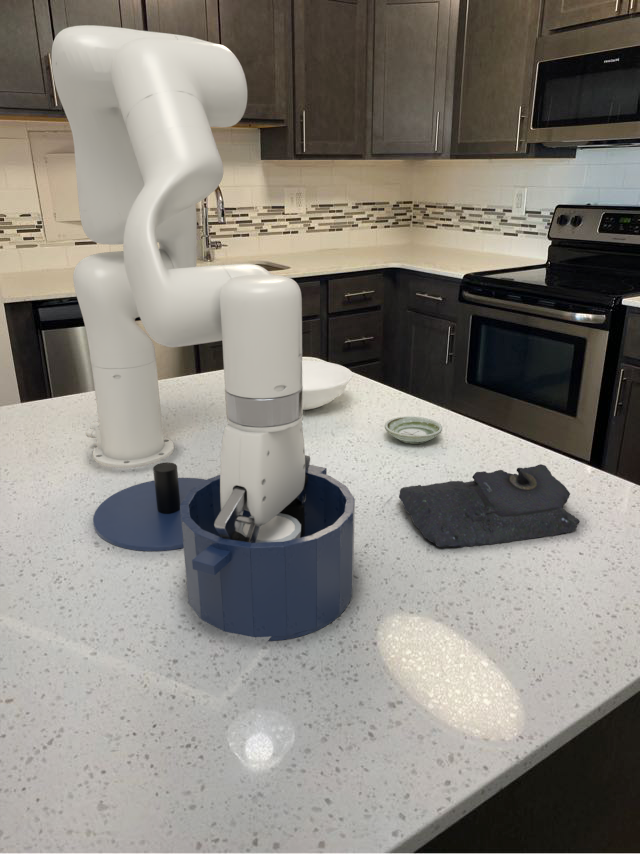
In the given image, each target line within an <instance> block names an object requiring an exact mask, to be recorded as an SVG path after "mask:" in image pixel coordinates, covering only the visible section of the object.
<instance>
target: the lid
mask: <svg viewBox="0 0 640 854" xmlns="http://www.w3.org/2000/svg"><path fill="white" fill-rule="evenodd" d="M152 471H153V473H152V474H153V480H149V481H144V482H141V483H137V484H134V485H132V486H131V485H130V486H128V487H126V488H124V489H121V490H119V491H117V492H116V493H113V494H112V495H110V496H109V497H107V498H106V499H105V500H103V501H102V502H101V503H100V504H99V505H98V507H97V508H96V510H95V512H94V514H93V517H92V523H93V529H94V530H95V533H96V534H97V536H99V537H100V538H101V539H102V540H103V541H105V542H107V543H109V544H110V545H113V546H116V547H118V548H123V549H127V550H133V551H142V552H163V551H173V550H179V549H180V550H181V549H184V546H183V535H182V524H181V512H180V504H181V503H182V501H183V500H184V498H185V496H186V495H187V493H188V492H189V491H190V490H191V489H193V488H194V487H196V486H197V485H199V484H200V483H202V482H203V481H205V480H206V478H198V477H179V474H178V473H179V472H178V465H177V464H176V463H174V462H160V463H156V464H155V465H154V466H153V467H152Z"/></svg>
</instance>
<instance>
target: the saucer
mask: <svg viewBox="0 0 640 854" xmlns="http://www.w3.org/2000/svg"><path fill="white" fill-rule="evenodd" d="M384 430H385V431H386V432H387V433H388V434H390V435H391V436H392V437H394V438H395V439H396V440H399V441H400V442H402V443H405V444H410V445H420V444H424V443H426V442H427V441H430V440H433V439H435V438H436V437H437V436H438V435H440V434H441V433H442V431H443V425H442V424H441V423H440V422H438V421H437V420H434V419H431V418H427V417H422V416H412V415H411V416H410V415H409V416H408V415H407V416H398V417H394V418H392V419H389V420H387V421H386V422H385V423H384Z"/></svg>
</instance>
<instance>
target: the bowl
mask: <svg viewBox="0 0 640 854" xmlns="http://www.w3.org/2000/svg"><path fill="white" fill-rule="evenodd" d="M353 377H354V375H353V372H352V370H351V369H349V368H347V367H345V366H343V365H341V364H338V363H333V362H327V361H321V360H305V359H304V360H303V359H302V386H303V411H306V410H313V409H317V408H320V407H322V406H325V405H327V404H329V403H331V402H332V401H334V400H335V399H337V398H338V397H339V396H342V395H343V394H344V393H345V390H346V388H347V385H348V383H350V382H351V381H352V379H353Z"/></svg>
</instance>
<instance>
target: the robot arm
mask: <svg viewBox="0 0 640 854" xmlns="http://www.w3.org/2000/svg"><path fill="white" fill-rule="evenodd" d="M51 70H52V76H53V81H54V85H55V89H56V92H57V96H58V98H59V101H60V104H61V106H62V109H63V111H64V114H65V116H66V118H67V121H68V123H69V127H70V131H71V135H72V140H73V147H74V162H75V163H74V164H75V176H76V177H75V178H76V189H77V200H78V210H79V212H78V213H79V219H80V223H81V227H82V230H83V232H84V234H85V236H86V237H87V238H88V239H89V240H91V241H92V242H93V243H96V244H100V245H109V246H113V245H115V246H117V245H122V246H123V247H122V248H123V249H122V250H119V251H106V252H98V253H95V254H90V255H88V256H86V257H84V258H82V259H81V260H80V261H78V263H77V264H76V266H75V268H74V270H73V274H72V281H73V287H74V293H75V295H76V299H77V302H78V305H79V310H80V313H81V316H82V319H83V320H82V321H83V323H84V328H85V333H86V337H87V344H88V350H89V351H88V352H89V359H90V364H91V371H92V379H93V386H94V394H95V401H96V410H97V418H98V420H93V421H92V422H91V423H90V426H89V428H87V429H86V431H85V436H86V437H87V438H91V439H92V438H93V439H96V446H95V447H94V449H93V451H92V459H93V461H94V462H96V463H97V464H98V465H100V466H103V467H108V468H114V469H115V468H116V469H134V468H141V467H146V466H149V465H150V466H151V465H154V464H158V463H159V462H160V463H161V462H162V461H164V460H166V459H168V458H169V457H170V456H172V454H173V453H174V451H175V443H174V442H173V440H172V439H170V438H168V437H166V436H164V429H163V419H162V417H163V416H162V407H161V399H160V387H159V386H160V385H159V375H158V366H157V365H158V364H157V358H156V357H157V355H156V347H155V345H154V342H155V343H156V344H159V345H160V346H163V347H166V348H178V347H179V348H180V347H188V346H194V345H195V346H196V345H201V344H208V343H215V342H221V341H222V342H221V343H222V359H223V360H222V361H223V362H222V363H223V377H224V378H223V379H224V394H225V395H224V399H225V415H226V416H225V417H226V423H227V424H226V425H225V426H224V428H223V432H222V433H223V434H222V440H221V449H220V463H219V464H220V465H219V466H220V469H219V470H220V471H219V475H220V503H221V512H220V513H219V515H218V517H217V518H216V520H215V523H214V526H215V529H216V530H217V532H218V534H219V536H220V537H222V538H224V539H230V540H237V541H243V542H250V543H256V539H257V536H258V533H259V530H260V527H261V526H262V525H264V524H266V523H267V522H269V521H270V520H271V519H273V518H274V517H275V516H276V515H277V514H279V513H282V514H286V515H290V516H292V517H294V518H296V519H297V520H298V521H299V523H300V524H301V534H300V538H302V537H303V536H304V535H305V513H304V505H301V503H302V504H304V503H305V501H306V493H305V492H304V490H305V488H306V485H307V483H308V475H306V473H308V469H309V465H311V456H310V455H306V452H305V451H306V449H305V436H304V428H303V420H304V410H303V386H302V360H303V298H302V291H301V288H300V286H299V284H298V282H297V281H295V280H294V279H293V278H291V277H288V276H285V275H280V274H272V273H271V272H270V271H269V270H267V269H266V268H265V267H263V266H261V265H258V264H254V263H233V264H232V263H231V264H221V265H218V264H216V265H215V264H213V265H203V266H202V265H201V266H197V253H198V251H197V245H198V244H197V243H198V242H197V241H198V239H197V238H198V237H197V236H198V233H197V232H198V220H197V206H196V205H197V204H199V203H200V202H202V201H204V200H205V199H207V198H208V197H209V196H210V195H212V193H214V192H215V191H216V189H218V187H219V186H220V184H221V182H222V180H223V178H224V163H223V160H222V157H221V155H220V152H219V150H218V145H217V143H216V140H215V137H214V134H213V132H212V128H231V127H233V126H236V125H237V124H238V123H239V122H240V121H241V119H242V118H243V116H244V115H245V112H246V109H247V105H248V84H247V79H246V74H245V72H244V69H243V67H242V64H241V63H240V61H239V59H238V58H237V56H236V55H235V54H234V52H232V51H231V49H229V48H228V47H227V46H225V45H223V44H219V43H215V42H211V41H207V40H204V39H200V38H196V37H192V36H188V35H183V34H182V35H181V34H173V33H168V32H167V33H166V32H159V31H158V32H157V31H149V30H138V29H132V28H127V27H126V28H125V27H117V26H106V25H91V24H90V25H87V24H86V25H73V26H68V27H66V28H63V29H62V30H60V31H59V32H58V33H57V34H56V36H55V37H54V40H53V43H52V45H51ZM137 318H139V319H140V321H141V324H142V326H143V328H144V330H143V328H141V326H139V325H138V324H137V322H136V319H137ZM153 341H154V342H153ZM244 510H245V511H249V512H250V514H251V516H254V518H251V517H247V516H243V512H244ZM241 523H245V524H248V525H250V527H249V531H248V534H247V537H245V536H244V535H242V534H241V533H239V532H238V531H239V528H240V525H241Z"/></svg>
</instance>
